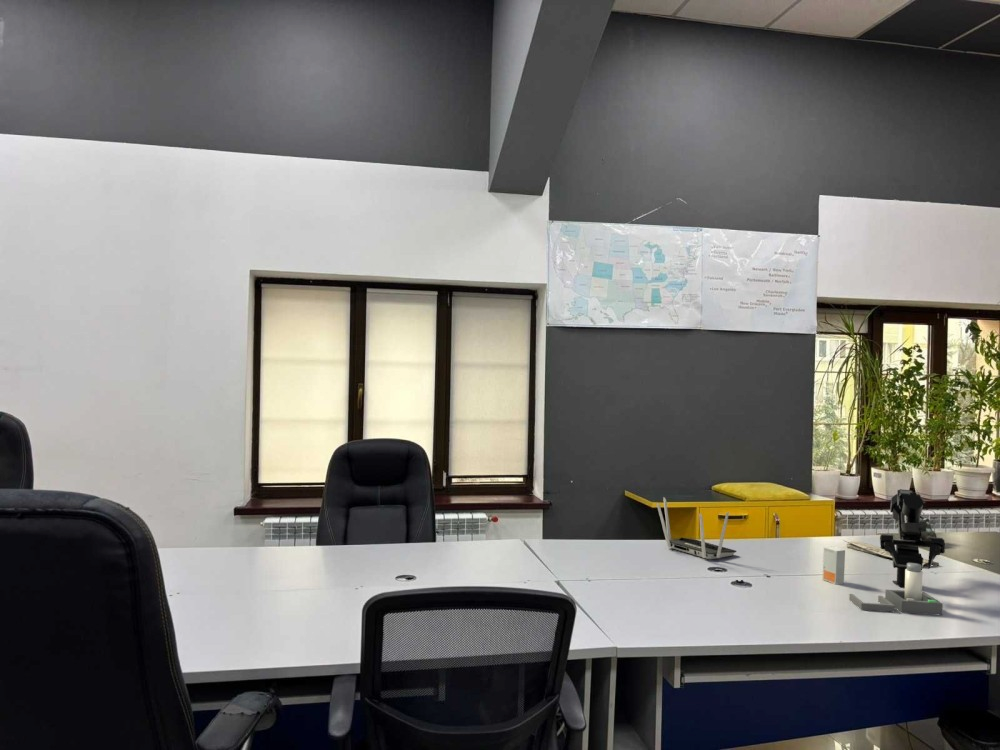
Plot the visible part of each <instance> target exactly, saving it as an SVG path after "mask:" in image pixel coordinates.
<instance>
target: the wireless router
mask: <svg viewBox="0 0 1000 750" xmlns="http://www.w3.org/2000/svg"><path fill="white" fill-rule="evenodd" d="M662 501H663V507H664V515H665V520H664V516H663V512H662V509H661V506H660V504H659V503H658V502H656V506H657V511H658V515H659V518H660V522H661V526H662V531H663V535H664V538H665V542H666V546H667V548H670V549H673V550H677V551H679V552H683V553H687V554H690V555H693V556H697V557H700V558H703V559H706V560H713V559H714V560H715V559H721V558H726V557H730V556H733V555H734V554H735V553H737V550H735V549H731V548H729V547H724V546H723V543H724V538H725V533H726V528H727V524H728V520H729V515H730V511H727V512H726V514H725V516H724V520H723V521H724V522H723V526H722V530H721V534H720V538H719V543H718V544H713V543H709V542H705V532H704V520H703V515H702V513H700V512H699V514H698V515H699V529H700V531H699V532H700V540H699V539H695V538H686V537H680V538H673V539H672V535H671V527H670V518H669V511H668V505H667V499H666V497H664V496H663V500H662Z"/></svg>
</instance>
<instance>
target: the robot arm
mask: <svg viewBox="0 0 1000 750" xmlns="http://www.w3.org/2000/svg"><path fill="white" fill-rule="evenodd" d="M924 507H926V501H925V500H924V499H923V497H921V494H920V493H917V492H914V491H913V490H911V489H902V488H900V489H897V493H896V494H894V496H892V497H891V498H890V508H889V509H890V513H891V514H892V519H894V520H895V521H896V523H898V530H897V532H898V531H899V532H898V538H894V534H884V533H881V534H880V536H879V543H880V547H881V549H885V551H887V552H889V553H890V555H891V556H892V558H893V560H892V567H893V569H896V580H892V583H893V584H894V585H896V586H898V587H900V588H905V569H907V563H917V564H920V565H921V571H923V568H922V565H923V559H924V557H923V555H922V553H920V550H919V549H920V548H929V552H928V559H927V560H928V565H927V566H928V567H927V568H928V569H931V567H932V566H931V564H932V562H933V561H934V560H935V559H936V557H937V556H940V555H941V554H945V552H946V551H945V546H946V543H945V539H944V538H943V537H937V538H936V537H930V541H921V538H922V536H921V532H926V522H920V516H922V511H923V509H924ZM923 566H924V565H923Z"/></svg>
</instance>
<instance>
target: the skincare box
mask: <svg viewBox="0 0 1000 750" xmlns="http://www.w3.org/2000/svg"><path fill="white" fill-rule="evenodd" d="M822 555H823V557H822V559H823V560H822V562H823V563H822V580H823V581H826V582H829V583H831V584H834V585H841V584H844V583H845V567H846V566H845V564H846V563H845V562H846V550H845V549H842V548H840V547H835V546H830V545H829V546H824V547H823V554H822Z"/></svg>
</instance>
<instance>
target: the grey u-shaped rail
mask: <svg viewBox="0 0 1000 750" xmlns="http://www.w3.org/2000/svg"><path fill="white" fill-rule="evenodd" d="M848 597H849V598H848V599H849V601H850V602H851V601H852V602H851V603H852V604H853V605H854V606H856V607H857V606H858V607H859V610H861V611H872V610H875V612H887V611H895V609H896V608H895V605H893V604H892V603H891V602H889V601H888V600H887V599H885V597H884V596H883V595H878V597H877V602H878V603H876V602H875V603H873V602H863V601H862V600H861V599H860V598H858V596H856V595H855V594H853V593H849V596H848ZM879 602H880V603H879ZM858 607H857V608H858ZM895 612H896V611H895Z"/></svg>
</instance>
